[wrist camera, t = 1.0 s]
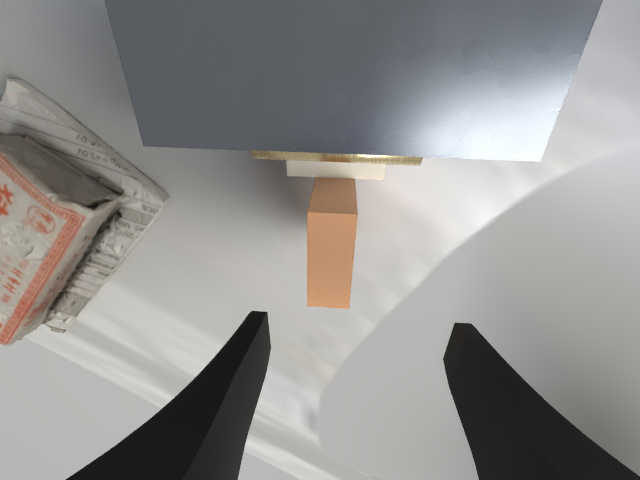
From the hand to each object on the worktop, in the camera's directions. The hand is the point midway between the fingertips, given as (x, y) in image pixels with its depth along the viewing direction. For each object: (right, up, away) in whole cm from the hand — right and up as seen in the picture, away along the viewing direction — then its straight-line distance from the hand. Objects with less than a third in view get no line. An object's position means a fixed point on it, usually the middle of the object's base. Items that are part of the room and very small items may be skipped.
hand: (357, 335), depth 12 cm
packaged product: (-21, +5, +11) cm, 24 cm away
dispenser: (0, +13, +3) cm, 14 cm away
